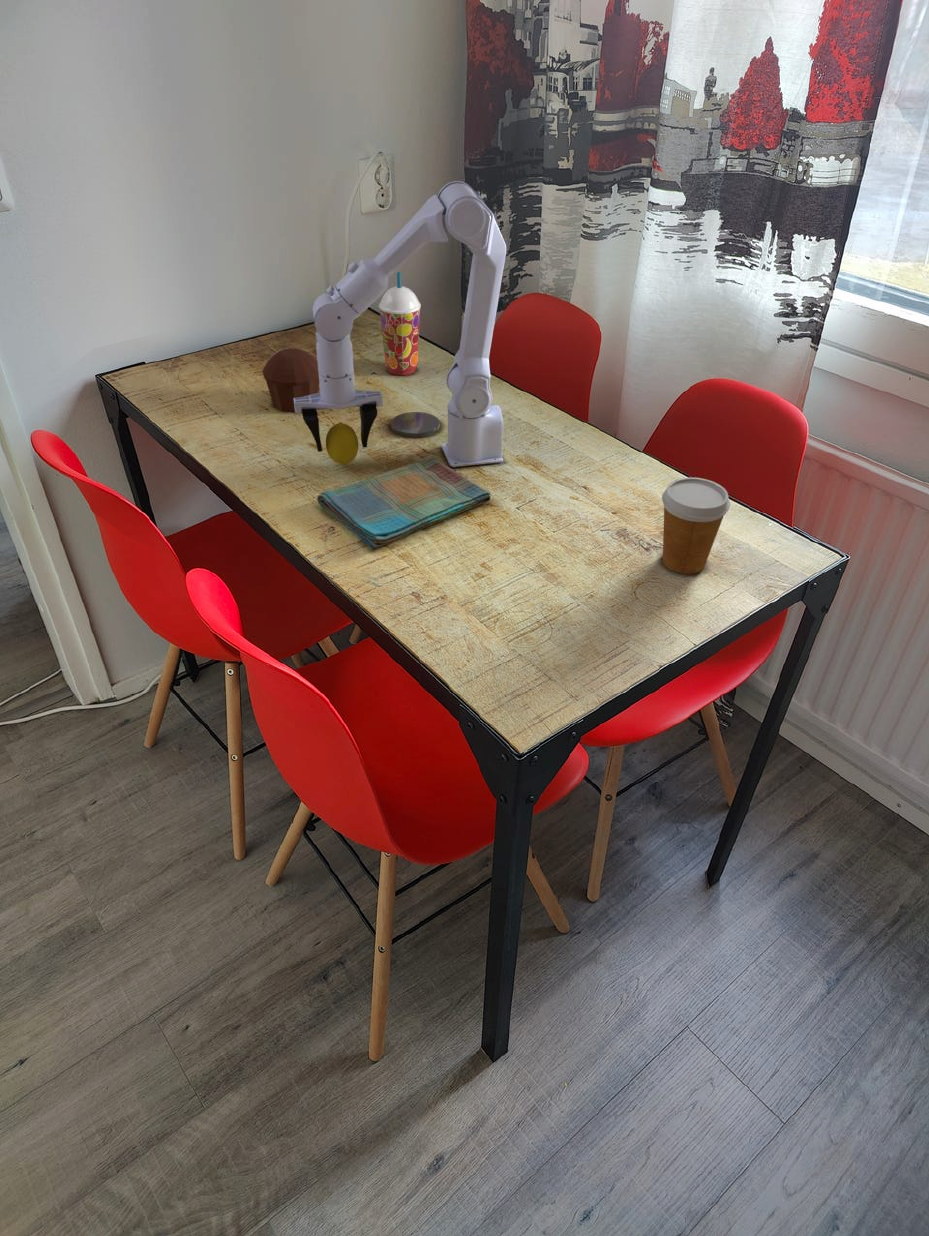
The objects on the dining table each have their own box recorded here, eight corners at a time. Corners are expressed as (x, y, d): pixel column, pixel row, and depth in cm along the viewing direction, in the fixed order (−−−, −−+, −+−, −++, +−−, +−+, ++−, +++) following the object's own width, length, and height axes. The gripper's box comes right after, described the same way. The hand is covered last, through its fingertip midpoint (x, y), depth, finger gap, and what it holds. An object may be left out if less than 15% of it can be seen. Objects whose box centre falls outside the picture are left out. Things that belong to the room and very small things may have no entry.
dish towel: (314, 505, 146) (313, 491, 145) (430, 462, 158) (430, 449, 156) (374, 552, 136) (373, 538, 134) (492, 503, 147) (493, 489, 146)
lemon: (354, 474, 154) (351, 431, 149) (323, 470, 155) (319, 428, 150) (363, 459, 158) (360, 417, 153) (333, 455, 159) (329, 414, 154)
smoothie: (377, 364, 191) (373, 267, 178) (415, 360, 193) (413, 264, 180) (387, 380, 184) (382, 281, 172) (426, 375, 186) (424, 277, 174)
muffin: (314, 417, 171) (309, 367, 164) (258, 412, 172) (251, 362, 166) (331, 391, 180) (327, 342, 174) (278, 387, 181) (272, 338, 175)
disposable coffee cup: (671, 537, 140) (683, 469, 132) (727, 560, 135) (743, 490, 128) (639, 564, 134) (650, 494, 127) (696, 588, 129) (712, 517, 122)
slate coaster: (434, 413, 173) (434, 409, 172) (444, 434, 166) (444, 431, 165) (387, 417, 171) (387, 414, 171) (395, 439, 164) (395, 435, 164)
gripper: (376, 358, 150) (380, 432, 159) (289, 365, 148) (297, 440, 156) (383, 375, 145) (386, 451, 153) (292, 382, 142) (301, 459, 151)
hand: (341, 446), depth 154 cm, fingers open, 7 cm apart
